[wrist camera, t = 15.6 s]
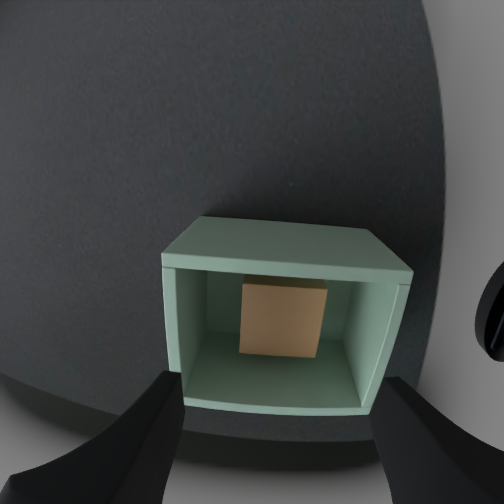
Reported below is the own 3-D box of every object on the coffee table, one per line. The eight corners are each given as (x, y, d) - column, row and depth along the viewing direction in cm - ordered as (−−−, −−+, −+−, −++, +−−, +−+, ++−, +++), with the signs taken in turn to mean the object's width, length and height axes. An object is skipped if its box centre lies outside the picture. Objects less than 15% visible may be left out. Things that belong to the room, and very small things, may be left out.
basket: (199, 215, 19) (161, 252, 12) (367, 229, 18) (414, 271, 11) (200, 351, 22) (176, 422, 15) (341, 361, 21) (360, 433, 14)
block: (317, 260, 18) (328, 289, 15) (308, 320, 20) (315, 358, 16) (248, 255, 18) (242, 283, 15) (245, 316, 20) (239, 353, 16)
